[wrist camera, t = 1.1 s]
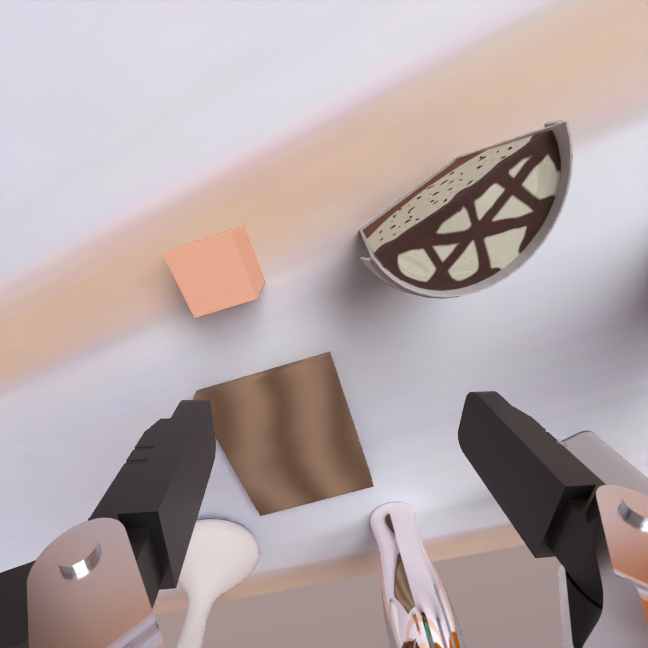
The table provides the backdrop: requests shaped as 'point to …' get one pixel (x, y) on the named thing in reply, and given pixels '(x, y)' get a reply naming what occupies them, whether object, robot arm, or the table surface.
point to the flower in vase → (213, 571)
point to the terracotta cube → (216, 271)
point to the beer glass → (411, 584)
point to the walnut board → (289, 434)
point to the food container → (474, 217)
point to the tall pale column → (606, 462)
